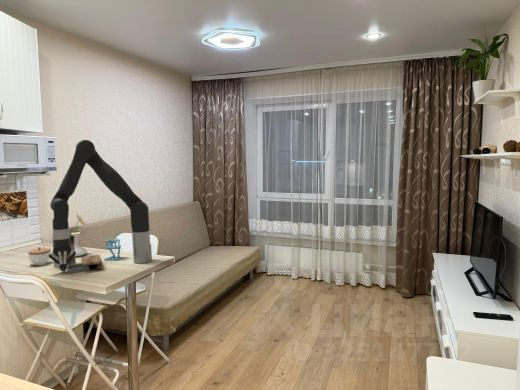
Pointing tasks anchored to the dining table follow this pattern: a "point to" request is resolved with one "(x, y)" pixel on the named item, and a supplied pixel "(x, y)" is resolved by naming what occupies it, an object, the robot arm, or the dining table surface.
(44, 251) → the lidded jar
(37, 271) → the dining table surface
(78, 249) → the flower in vase
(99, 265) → the light brown rounded block
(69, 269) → the dark grey flat block
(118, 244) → the chair
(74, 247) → the coffee box
